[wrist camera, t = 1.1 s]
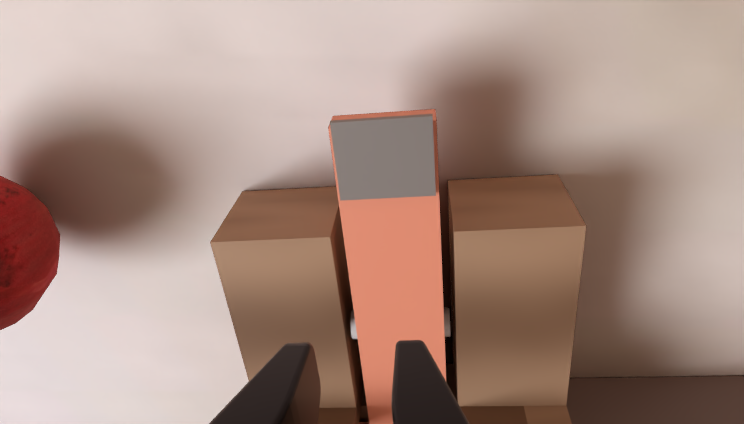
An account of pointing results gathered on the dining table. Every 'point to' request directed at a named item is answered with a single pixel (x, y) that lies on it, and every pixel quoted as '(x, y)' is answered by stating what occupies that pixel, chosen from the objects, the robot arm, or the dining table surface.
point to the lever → (390, 241)
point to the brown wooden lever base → (468, 293)
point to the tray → (656, 400)
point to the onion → (24, 251)
